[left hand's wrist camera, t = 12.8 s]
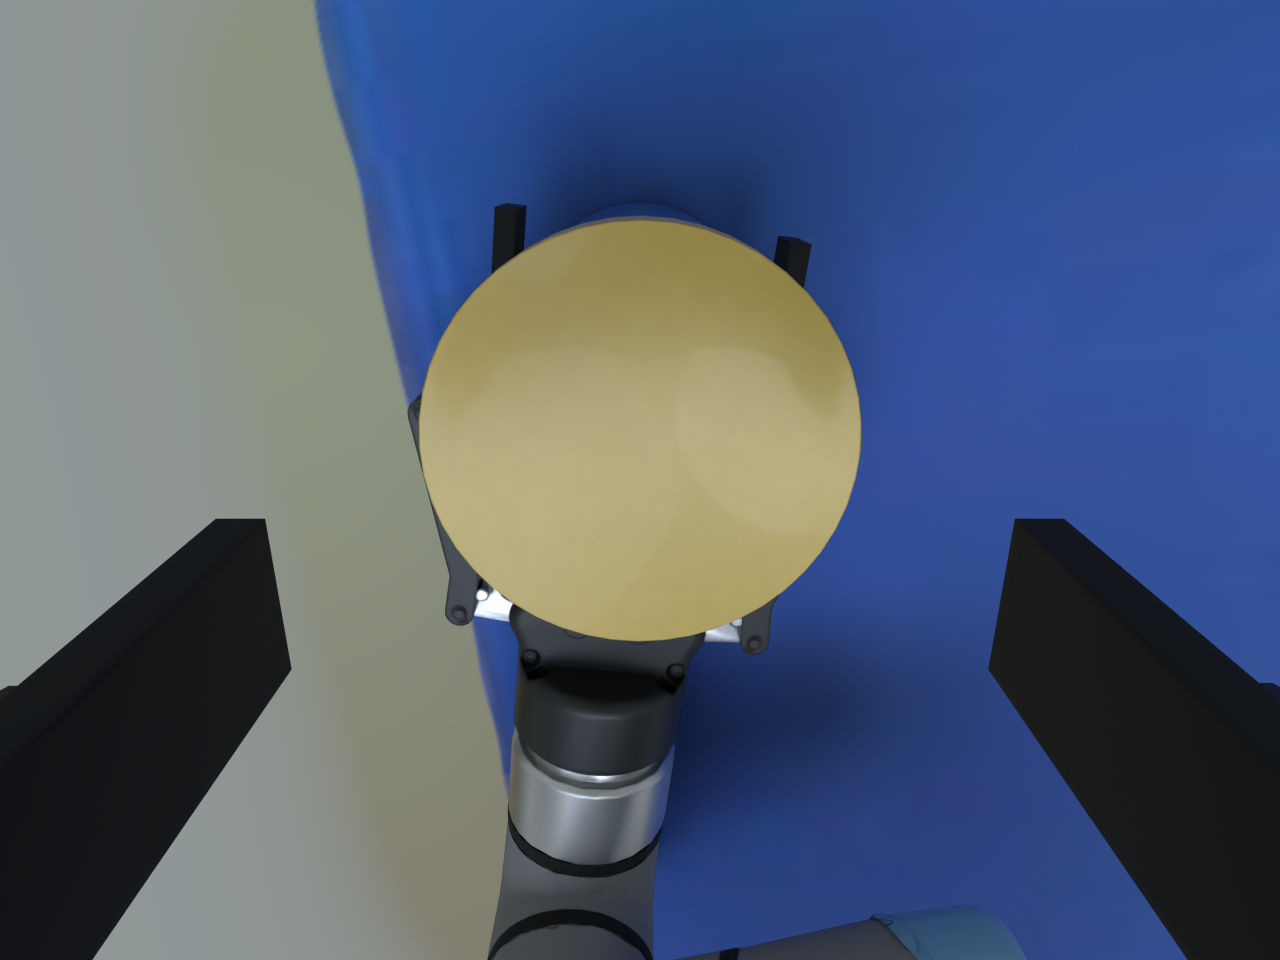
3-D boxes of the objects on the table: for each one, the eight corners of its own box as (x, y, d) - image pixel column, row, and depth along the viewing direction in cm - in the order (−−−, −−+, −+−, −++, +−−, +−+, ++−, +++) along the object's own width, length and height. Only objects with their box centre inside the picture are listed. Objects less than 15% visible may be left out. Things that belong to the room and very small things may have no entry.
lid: (391, 245, 20) (371, 252, 18) (839, 188, 19) (855, 190, 18) (476, 629, 23) (465, 661, 22) (852, 590, 23) (867, 619, 22)
